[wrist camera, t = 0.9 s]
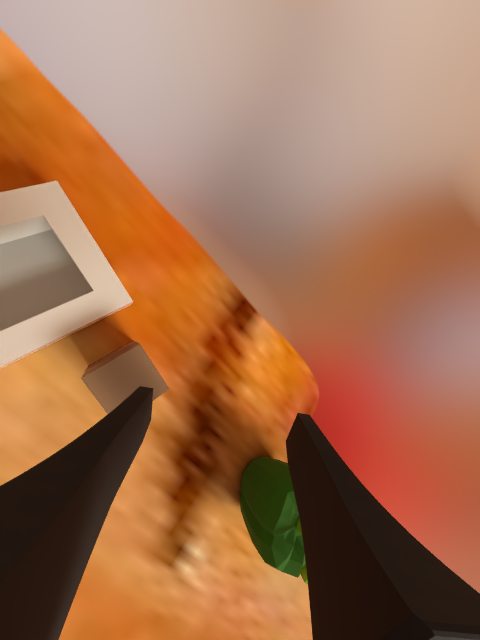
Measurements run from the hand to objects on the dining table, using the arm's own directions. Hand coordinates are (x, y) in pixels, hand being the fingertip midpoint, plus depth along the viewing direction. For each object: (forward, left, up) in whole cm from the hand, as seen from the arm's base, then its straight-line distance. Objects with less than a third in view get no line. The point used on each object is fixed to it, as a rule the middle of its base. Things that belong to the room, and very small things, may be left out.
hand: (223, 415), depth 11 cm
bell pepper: (+2, -18, -14) cm, 22 cm away
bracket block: (-3, +2, -13) cm, 14 cm away
